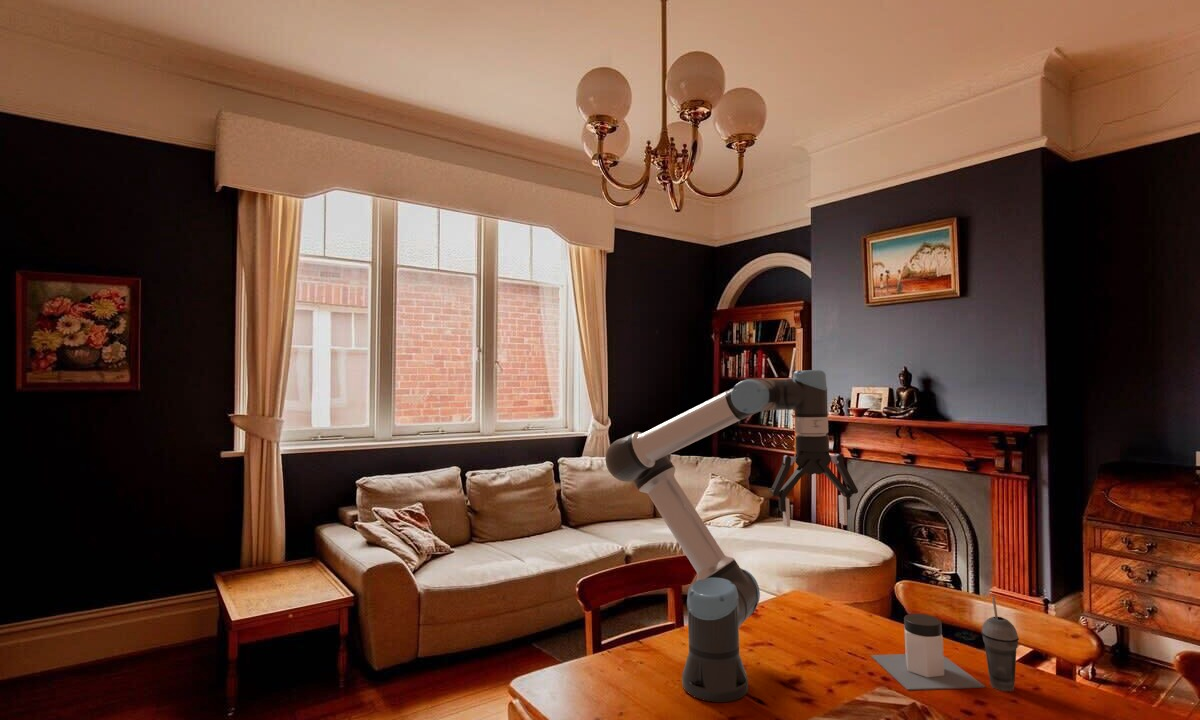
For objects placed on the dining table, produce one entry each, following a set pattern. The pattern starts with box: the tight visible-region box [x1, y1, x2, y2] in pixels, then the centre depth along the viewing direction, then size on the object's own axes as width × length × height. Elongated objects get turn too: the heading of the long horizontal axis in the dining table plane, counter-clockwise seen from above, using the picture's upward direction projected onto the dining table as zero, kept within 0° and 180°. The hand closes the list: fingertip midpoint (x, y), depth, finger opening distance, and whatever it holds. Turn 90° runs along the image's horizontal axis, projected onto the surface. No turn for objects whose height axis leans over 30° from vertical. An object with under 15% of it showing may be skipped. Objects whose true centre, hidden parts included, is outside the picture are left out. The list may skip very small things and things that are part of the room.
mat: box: [870, 653, 986, 691], centre depth 151 cm, size 18×18×1 cm
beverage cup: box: [981, 595, 1019, 692], centre depth 143 cm, size 7×7×20 cm
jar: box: [903, 613, 945, 678], centre depth 152 cm, size 9×8×12 cm
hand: (815, 524), depth 148 cm, fingers open, 13 cm apart
